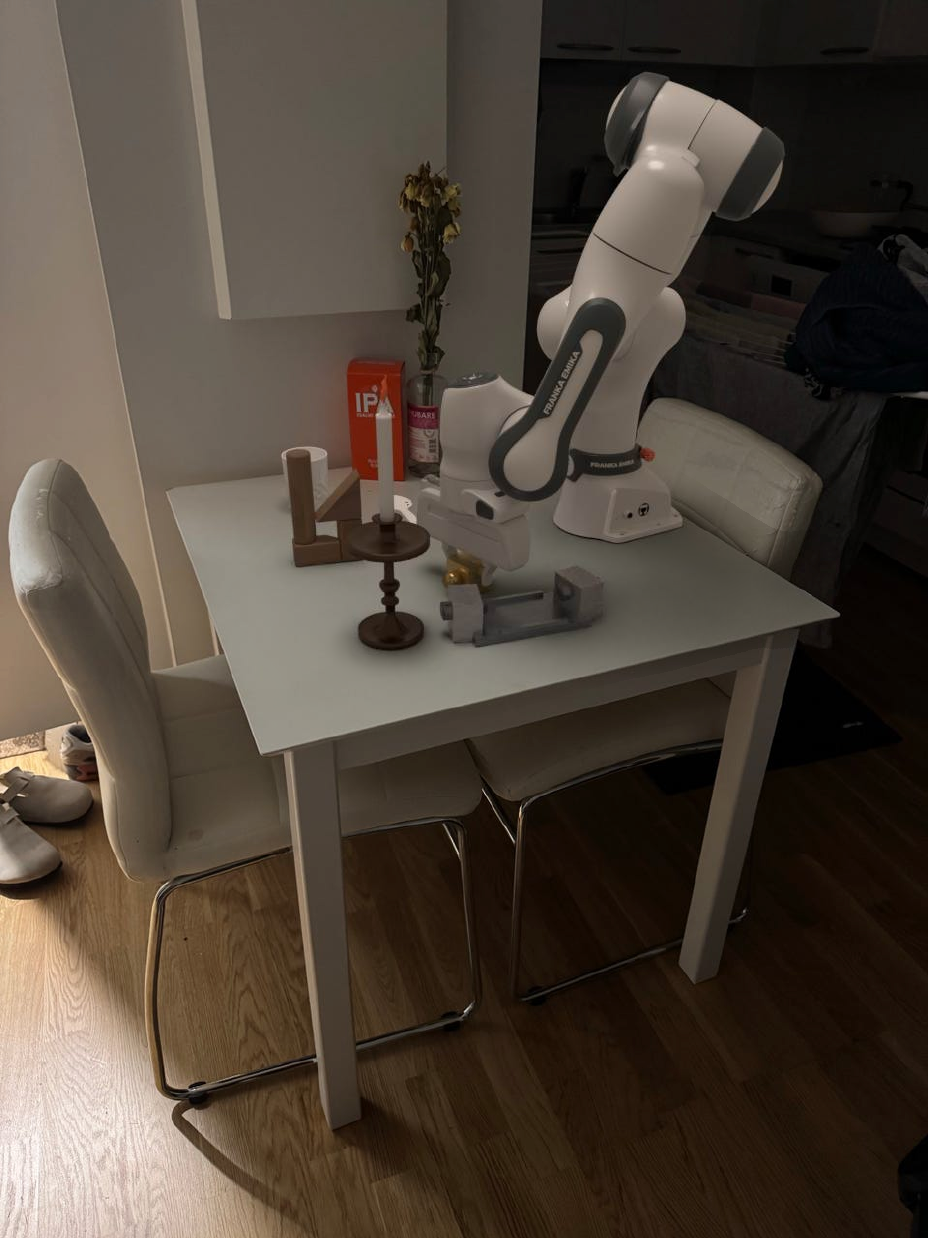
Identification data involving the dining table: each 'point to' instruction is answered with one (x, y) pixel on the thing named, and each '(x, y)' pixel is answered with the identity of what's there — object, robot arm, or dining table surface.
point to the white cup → (313, 474)
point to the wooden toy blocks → (320, 513)
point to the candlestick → (388, 550)
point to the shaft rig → (523, 610)
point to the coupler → (463, 571)
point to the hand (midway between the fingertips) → (469, 576)
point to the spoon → (404, 507)
